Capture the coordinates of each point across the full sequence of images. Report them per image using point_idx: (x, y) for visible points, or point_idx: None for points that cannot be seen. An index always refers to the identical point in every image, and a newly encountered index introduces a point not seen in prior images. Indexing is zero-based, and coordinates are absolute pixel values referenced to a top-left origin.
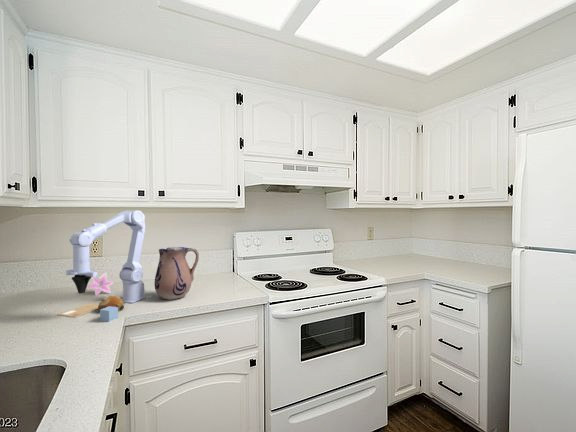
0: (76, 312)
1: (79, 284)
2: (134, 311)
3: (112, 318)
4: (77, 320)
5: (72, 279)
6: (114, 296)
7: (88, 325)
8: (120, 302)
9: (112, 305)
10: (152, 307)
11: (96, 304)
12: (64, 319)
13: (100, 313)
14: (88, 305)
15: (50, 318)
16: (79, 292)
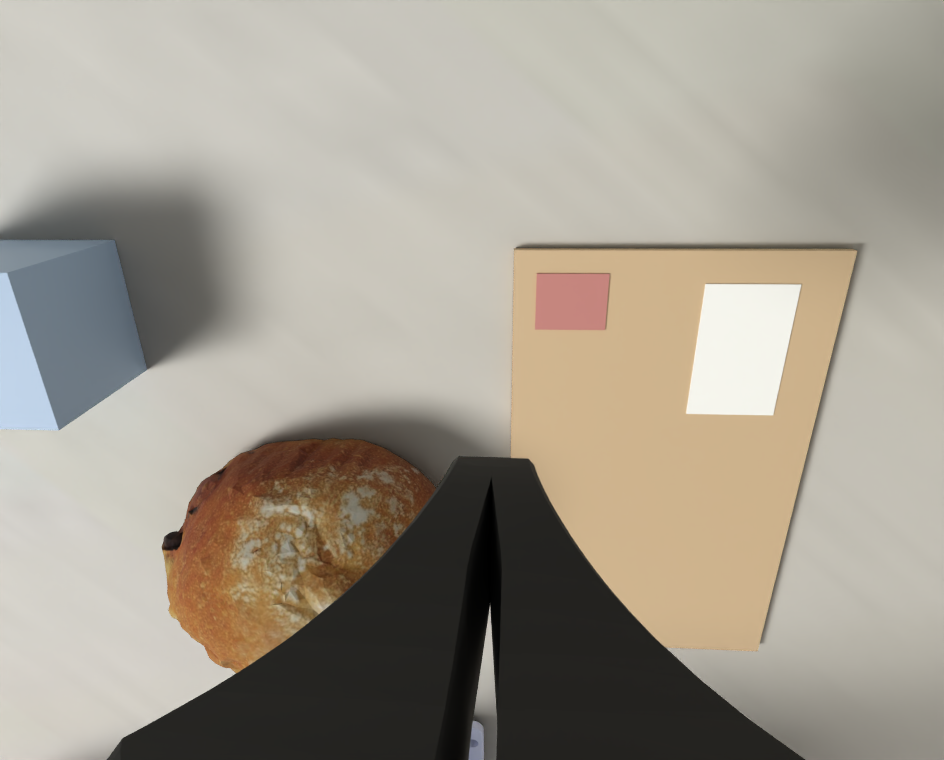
0: (643, 372)
1: (398, 592)
2: (65, 547)
3: None
4: (387, 165)
5: (760, 756)
6: None
7: (71, 58)
8: (170, 607)
9: (189, 523)
10: (22, 658)
11: (640, 622)
12: (597, 145)
13: (38, 259)
14: (708, 584)
15: (843, 118)
16: (487, 463)
